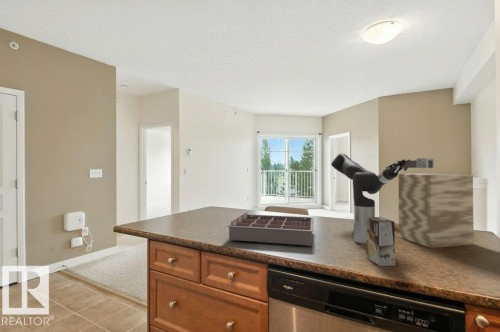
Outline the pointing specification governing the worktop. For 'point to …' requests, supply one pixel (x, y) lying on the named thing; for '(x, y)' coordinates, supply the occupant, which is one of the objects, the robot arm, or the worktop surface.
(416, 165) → the bar
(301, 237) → the organizer tray
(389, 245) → the coffee box
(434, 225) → the wood grain block
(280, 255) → the worktop surface
